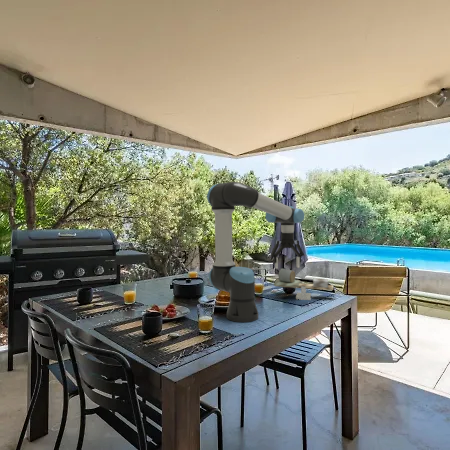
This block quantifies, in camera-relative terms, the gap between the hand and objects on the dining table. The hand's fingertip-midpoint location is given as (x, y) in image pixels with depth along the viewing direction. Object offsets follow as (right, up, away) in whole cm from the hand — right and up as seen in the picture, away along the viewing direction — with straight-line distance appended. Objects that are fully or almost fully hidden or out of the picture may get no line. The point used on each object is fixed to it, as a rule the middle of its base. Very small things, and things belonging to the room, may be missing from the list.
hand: (287, 268), depth 196 cm
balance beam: (+9, -11, -2) cm, 14 cm away
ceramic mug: (0, -8, +1) cm, 8 cm away
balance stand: (+9, -17, -2) cm, 19 cm away
